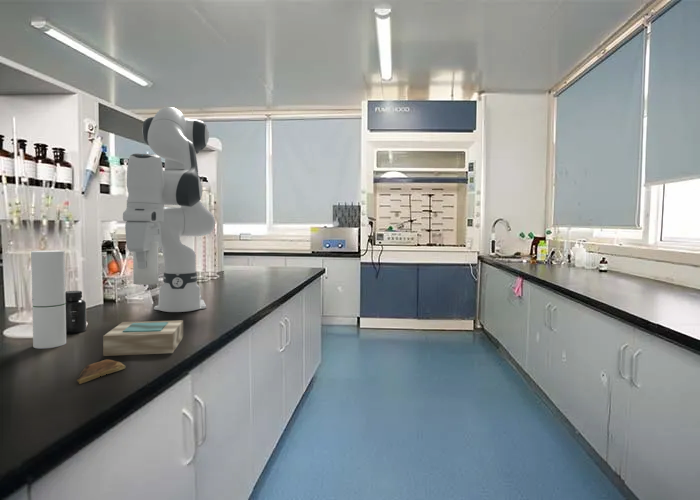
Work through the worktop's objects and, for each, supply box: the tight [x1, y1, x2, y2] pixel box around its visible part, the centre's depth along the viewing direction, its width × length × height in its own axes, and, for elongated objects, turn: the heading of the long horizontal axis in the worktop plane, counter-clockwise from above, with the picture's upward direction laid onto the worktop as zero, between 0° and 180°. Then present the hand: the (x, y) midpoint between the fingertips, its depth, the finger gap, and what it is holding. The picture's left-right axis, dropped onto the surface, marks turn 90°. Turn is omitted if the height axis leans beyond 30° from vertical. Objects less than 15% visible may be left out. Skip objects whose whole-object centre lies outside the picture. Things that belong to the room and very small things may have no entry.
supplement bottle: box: [65, 290, 87, 335], centre depth 123 cm, size 7×7×12 cm
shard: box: [76, 358, 126, 385], centre depth 90 cm, size 11×8×2 cm
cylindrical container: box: [30, 249, 67, 350], centre depth 109 cm, size 7×7×25 cm
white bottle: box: [132, 242, 160, 286], centre depth 109 cm, size 6×6×13 cm
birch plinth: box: [102, 319, 184, 357], centre depth 111 cm, size 15×16×5 cm
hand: (146, 267), depth 109 cm, fingers closed on white bottle, 6 cm apart
